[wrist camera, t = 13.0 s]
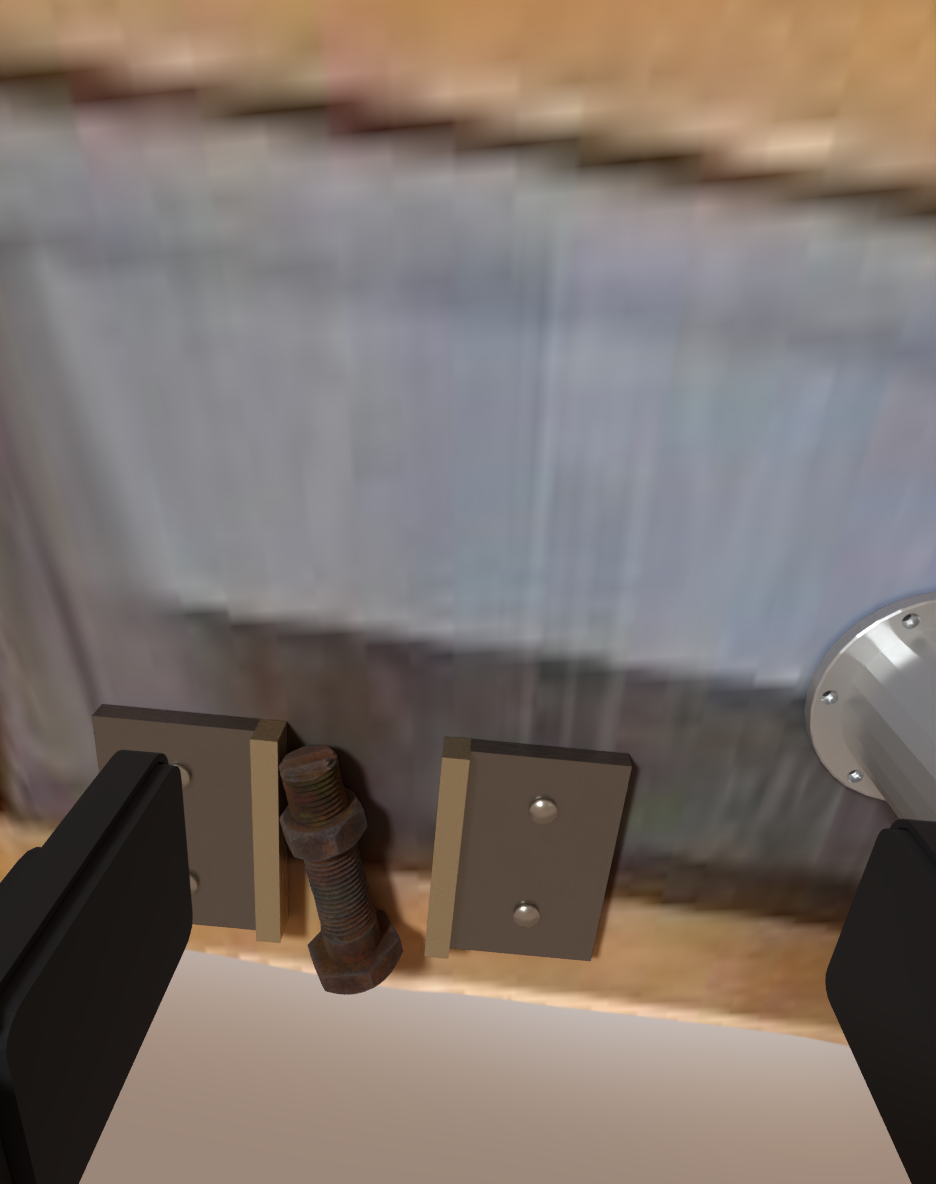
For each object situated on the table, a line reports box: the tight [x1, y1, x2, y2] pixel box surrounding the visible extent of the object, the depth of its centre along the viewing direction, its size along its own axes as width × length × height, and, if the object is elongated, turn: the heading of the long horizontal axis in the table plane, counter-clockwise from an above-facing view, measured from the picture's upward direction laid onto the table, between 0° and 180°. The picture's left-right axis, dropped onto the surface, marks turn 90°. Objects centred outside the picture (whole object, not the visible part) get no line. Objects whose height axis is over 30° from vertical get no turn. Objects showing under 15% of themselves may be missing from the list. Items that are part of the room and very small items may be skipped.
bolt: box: [279, 745, 403, 994], centre depth 44 cm, size 6×5×15 cm
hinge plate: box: [92, 704, 632, 961], centre depth 45 cm, size 30×15×2 cm, turn 85°
